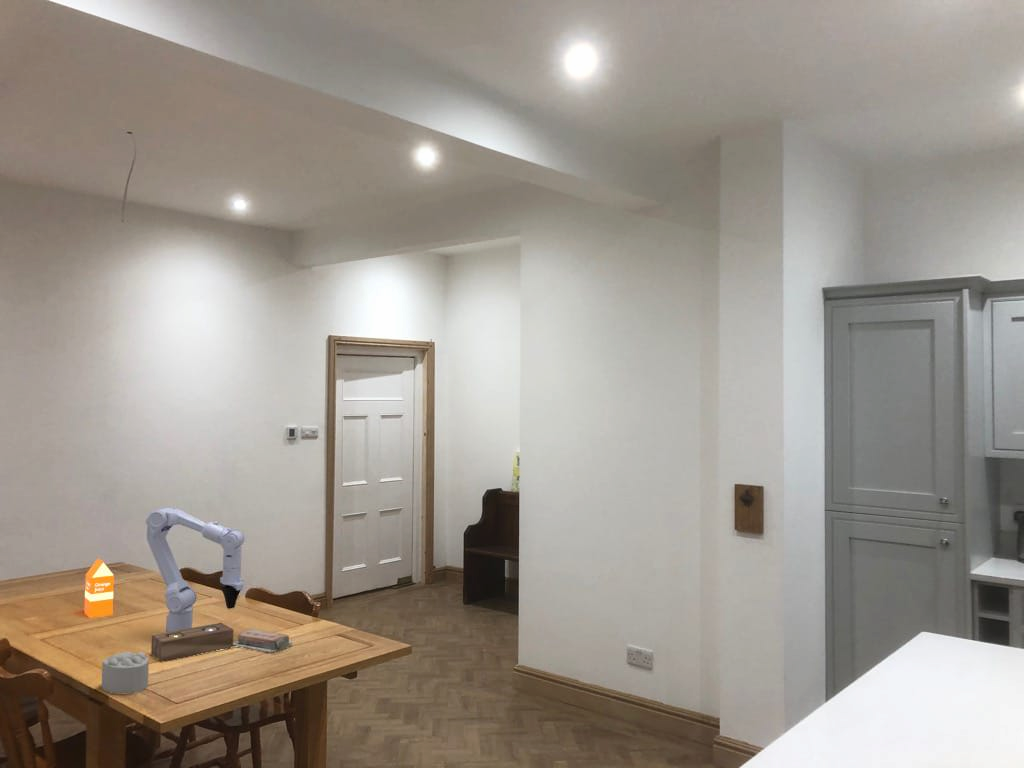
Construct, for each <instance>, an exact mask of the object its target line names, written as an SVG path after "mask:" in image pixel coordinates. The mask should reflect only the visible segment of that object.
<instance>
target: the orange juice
mask: <svg viewBox="0 0 1024 768" xmlns="http://www.w3.org/2000/svg"><path fill="white" fill-rule="evenodd" d="M114 578H115V575H114V573H113V572H112V571H111V570H110V568H109V567H108V566H107V565H106V564H105V562H104V561H103V560H101V559H100V558H97V559H96V560H95V562H94V563H93V565H92V566H91V567H90V568H89V570H88V571H87V572H86V573H85V585H84V586H85V589H84V614H85V615H86V616H87V617H88V618H90V619H92V618H100V617H107V616H113V612H114V611H113V606H114V585H115V584H114V582H115V579H114Z"/></svg>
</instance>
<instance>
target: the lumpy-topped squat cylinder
mask: <svg viewBox="0 0 1024 768" xmlns="http://www.w3.org/2000/svg"><path fill="white" fill-rule="evenodd" d="M149 659H150V658H148V656H146V653H145V652H143V651H139V652H137V653H135V652H131V651H124V652H121V653H115V654H111V655H110V656H109V657H107V658H104V659H103V660H102V665H101V668H102V669H101V689H102V688H103V689H104V690H103V689H102V690H103V691H105V690H106V691H105V692H107V691H108V692H107V693H109V692H112V693H133V694H136V693H135V692H138V693H141V692H143V691H145V690H146V689H147V688H148V687H149V666H150V665H149V664H150V661H149ZM147 686H148V687H147ZM144 689H145V690H144ZM142 690H143V691H142ZM140 691H141V692H140ZM112 693H111V694H112Z"/></svg>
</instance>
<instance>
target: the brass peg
mask: <svg viewBox="0 0 1024 768" xmlns="http://www.w3.org/2000/svg"><path fill="white" fill-rule="evenodd" d="M180 636H182V634H171V635H169V638H174V637H180Z"/></svg>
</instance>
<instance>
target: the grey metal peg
mask: <svg viewBox="0 0 1024 768" xmlns="http://www.w3.org/2000/svg"><path fill="white" fill-rule="evenodd" d="M214 630H216V628H214V627H211V628H206V629H205V632H208V631H214Z"/></svg>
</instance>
